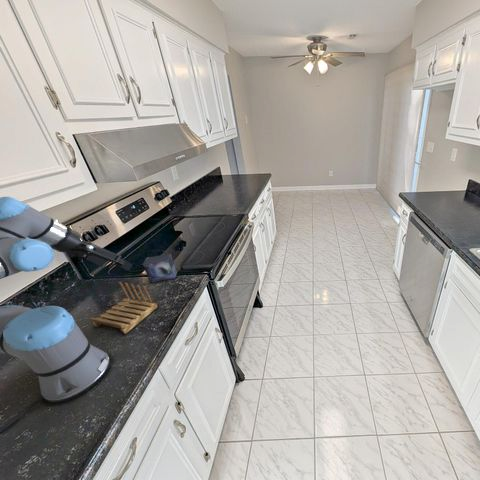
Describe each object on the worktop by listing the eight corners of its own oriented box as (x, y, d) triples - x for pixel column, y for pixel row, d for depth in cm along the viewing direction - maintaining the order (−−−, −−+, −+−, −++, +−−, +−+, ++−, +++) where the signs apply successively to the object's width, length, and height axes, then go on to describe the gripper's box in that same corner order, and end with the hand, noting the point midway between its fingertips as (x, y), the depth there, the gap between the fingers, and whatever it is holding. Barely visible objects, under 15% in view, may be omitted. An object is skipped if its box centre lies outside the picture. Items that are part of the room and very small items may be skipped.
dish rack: (125, 334, 89) (112, 311, 84) (94, 326, 93) (80, 304, 88) (157, 306, 101) (147, 285, 96) (129, 301, 105) (118, 280, 100)
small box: (150, 284, 115) (141, 264, 110) (154, 276, 120) (145, 257, 116) (175, 279, 117) (167, 260, 112) (178, 271, 123) (171, 253, 118)
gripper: (94, 228, 76) (147, 260, 94) (39, 223, 83) (98, 253, 101) (77, 250, 73) (136, 278, 91) (22, 243, 80) (86, 270, 97)
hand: (116, 265), depth 96 cm, fingers open, 13 cm apart
